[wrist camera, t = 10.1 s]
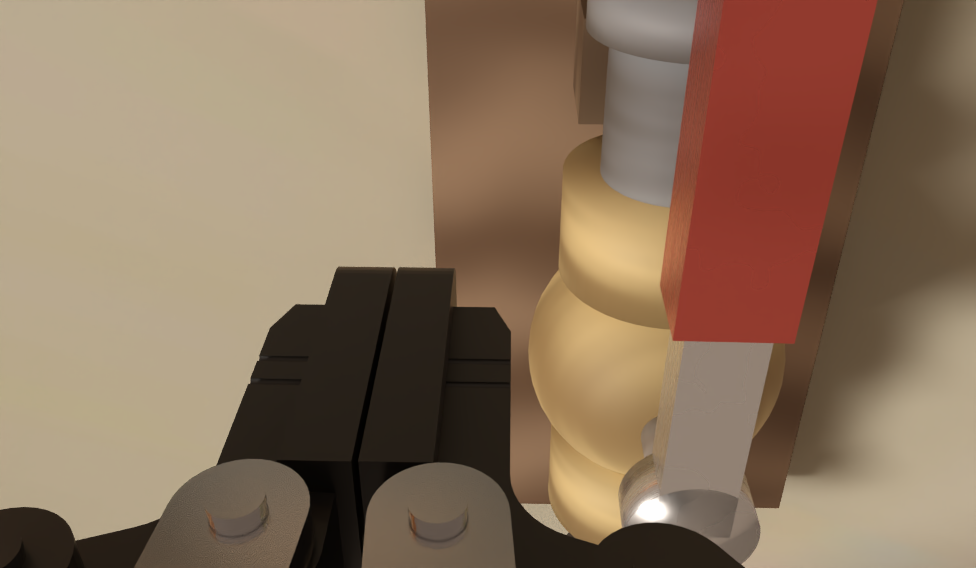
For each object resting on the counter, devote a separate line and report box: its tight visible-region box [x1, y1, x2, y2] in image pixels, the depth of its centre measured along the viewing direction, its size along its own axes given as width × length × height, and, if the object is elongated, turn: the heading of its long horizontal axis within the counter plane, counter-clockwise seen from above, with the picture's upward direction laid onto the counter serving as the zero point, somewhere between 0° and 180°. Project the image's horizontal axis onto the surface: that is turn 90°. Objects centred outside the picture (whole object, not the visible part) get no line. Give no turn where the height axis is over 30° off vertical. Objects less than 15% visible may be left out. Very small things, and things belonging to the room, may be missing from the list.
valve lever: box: [618, 0, 878, 564], centre depth 19 cm, size 16×3×2 cm, turn 0°
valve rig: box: [425, 0, 904, 545], centre depth 28 cm, size 24×14×12 cm, turn 0°
